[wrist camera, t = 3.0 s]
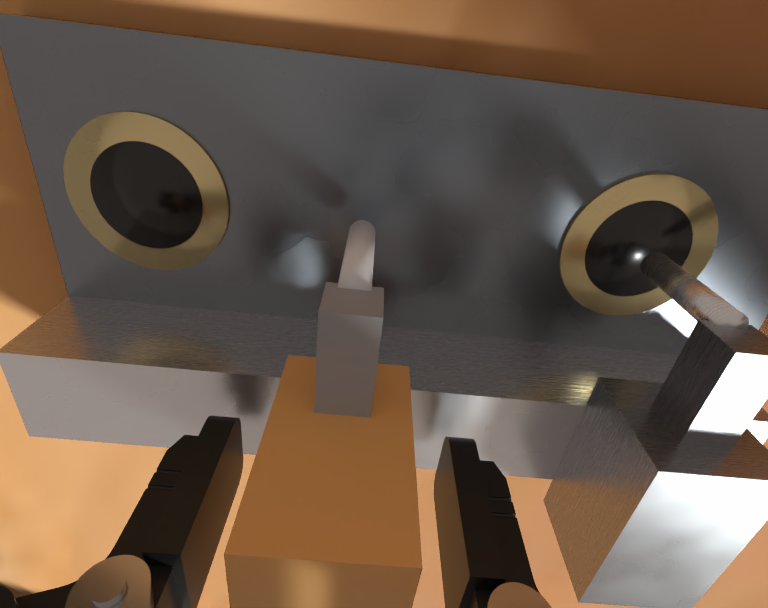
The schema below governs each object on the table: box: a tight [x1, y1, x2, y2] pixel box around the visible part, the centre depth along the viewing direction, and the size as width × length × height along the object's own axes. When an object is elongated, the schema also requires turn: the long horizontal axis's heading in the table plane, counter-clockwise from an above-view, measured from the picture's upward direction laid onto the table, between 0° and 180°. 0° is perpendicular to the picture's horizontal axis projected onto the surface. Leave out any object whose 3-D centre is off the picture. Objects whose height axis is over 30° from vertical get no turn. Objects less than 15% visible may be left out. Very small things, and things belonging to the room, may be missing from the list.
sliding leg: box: [224, 220, 422, 608], centre depth 10 cm, size 3×8×7 cm, turn 174°
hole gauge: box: [0, 13, 768, 608], centre depth 12 cm, size 22×12×7 cm, turn 84°
